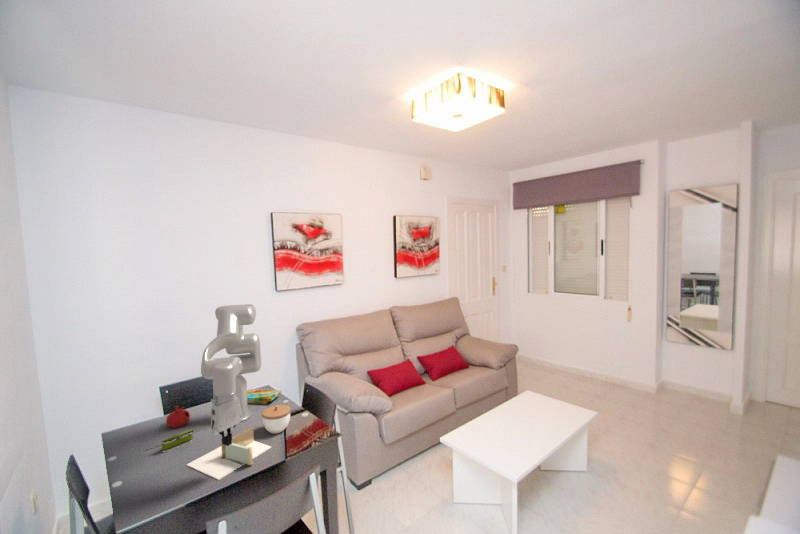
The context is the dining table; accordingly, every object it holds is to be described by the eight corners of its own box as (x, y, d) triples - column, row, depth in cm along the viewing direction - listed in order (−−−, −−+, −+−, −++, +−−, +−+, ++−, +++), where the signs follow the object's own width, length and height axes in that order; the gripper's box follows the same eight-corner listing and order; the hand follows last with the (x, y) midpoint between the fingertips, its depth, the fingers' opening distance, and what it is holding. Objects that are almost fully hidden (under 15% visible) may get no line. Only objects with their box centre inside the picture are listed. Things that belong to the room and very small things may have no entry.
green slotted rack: (197, 431, 154) (188, 420, 160) (146, 450, 139) (138, 438, 145) (196, 445, 155) (187, 434, 161) (146, 466, 140) (138, 453, 146)
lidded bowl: (295, 423, 169) (294, 401, 169) (284, 437, 157) (283, 412, 156) (270, 422, 171) (269, 400, 170) (257, 436, 158) (256, 412, 158)
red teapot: (170, 432, 164) (168, 413, 163) (163, 425, 171) (162, 407, 170) (193, 424, 172) (192, 405, 171) (186, 418, 178) (184, 400, 177)
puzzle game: (249, 388, 205) (281, 388, 203) (249, 396, 205) (281, 396, 203) (237, 396, 194) (271, 397, 191) (237, 404, 194) (271, 405, 191)
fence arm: (250, 465, 135) (249, 449, 135) (225, 458, 140) (224, 442, 140) (253, 463, 136) (253, 447, 136) (228, 456, 142) (228, 440, 141)
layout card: (186, 465, 137) (186, 464, 137) (240, 436, 158) (240, 435, 158) (218, 480, 127) (218, 478, 127) (271, 447, 148) (271, 446, 148)
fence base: (221, 457, 141) (220, 439, 141) (251, 440, 154) (250, 423, 153) (224, 458, 140) (223, 440, 140) (254, 441, 153) (253, 424, 152)
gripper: (212, 407, 123) (214, 457, 124) (248, 391, 136) (250, 436, 137) (199, 402, 126) (201, 451, 127) (236, 387, 139) (238, 432, 140)
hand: (227, 444), depth 132 cm, fingers closed
